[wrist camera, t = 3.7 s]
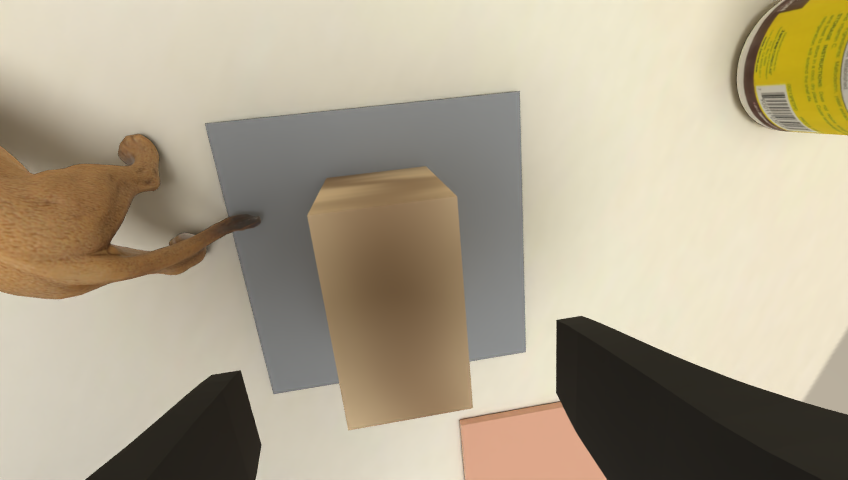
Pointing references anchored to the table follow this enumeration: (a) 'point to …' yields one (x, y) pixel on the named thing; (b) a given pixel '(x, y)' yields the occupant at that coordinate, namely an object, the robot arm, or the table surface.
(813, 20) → the supplement bottle
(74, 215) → the lion figurine
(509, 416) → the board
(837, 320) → the table surface
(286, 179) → the grey square mat
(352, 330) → the oak block
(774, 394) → the robot arm
